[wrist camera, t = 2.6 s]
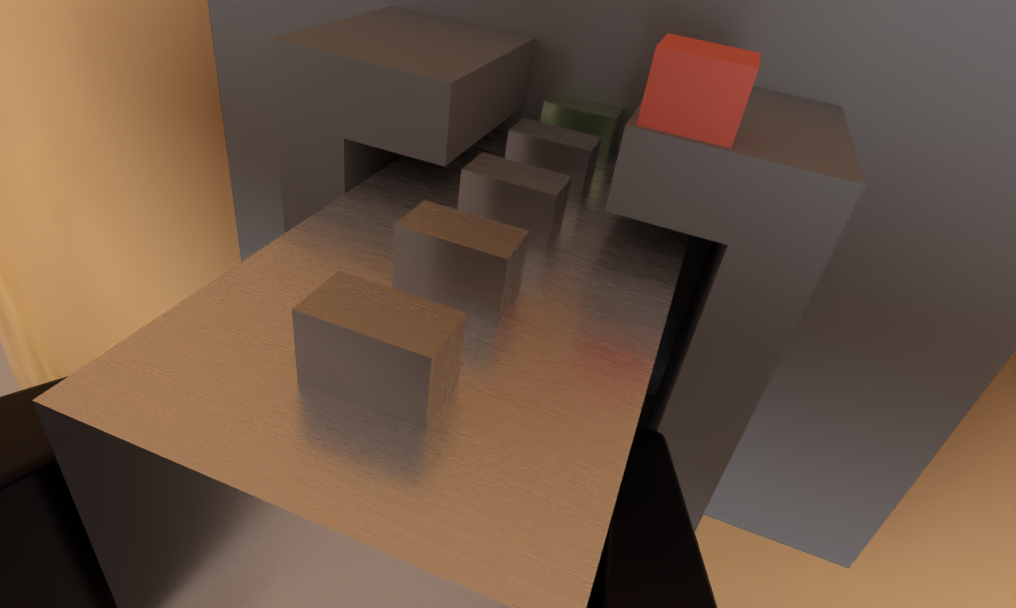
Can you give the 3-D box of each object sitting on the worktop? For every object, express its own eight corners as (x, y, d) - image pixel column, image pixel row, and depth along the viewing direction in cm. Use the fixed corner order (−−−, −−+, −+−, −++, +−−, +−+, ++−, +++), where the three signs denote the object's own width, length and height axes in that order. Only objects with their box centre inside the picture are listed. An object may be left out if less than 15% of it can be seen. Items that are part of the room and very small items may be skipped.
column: (640, 373, 12) (493, 858, 6) (446, 309, 13) (145, 675, 7) (720, 131, 9) (605, 563, 3) (469, 70, 10) (-1, 321, 4)
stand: (844, 528, 13) (864, 724, 10) (278, 325, 16) (156, 426, 13) (1204, 23, 8) (1508, 107, 4) (232, -147, 11) (-3, -170, 7)
